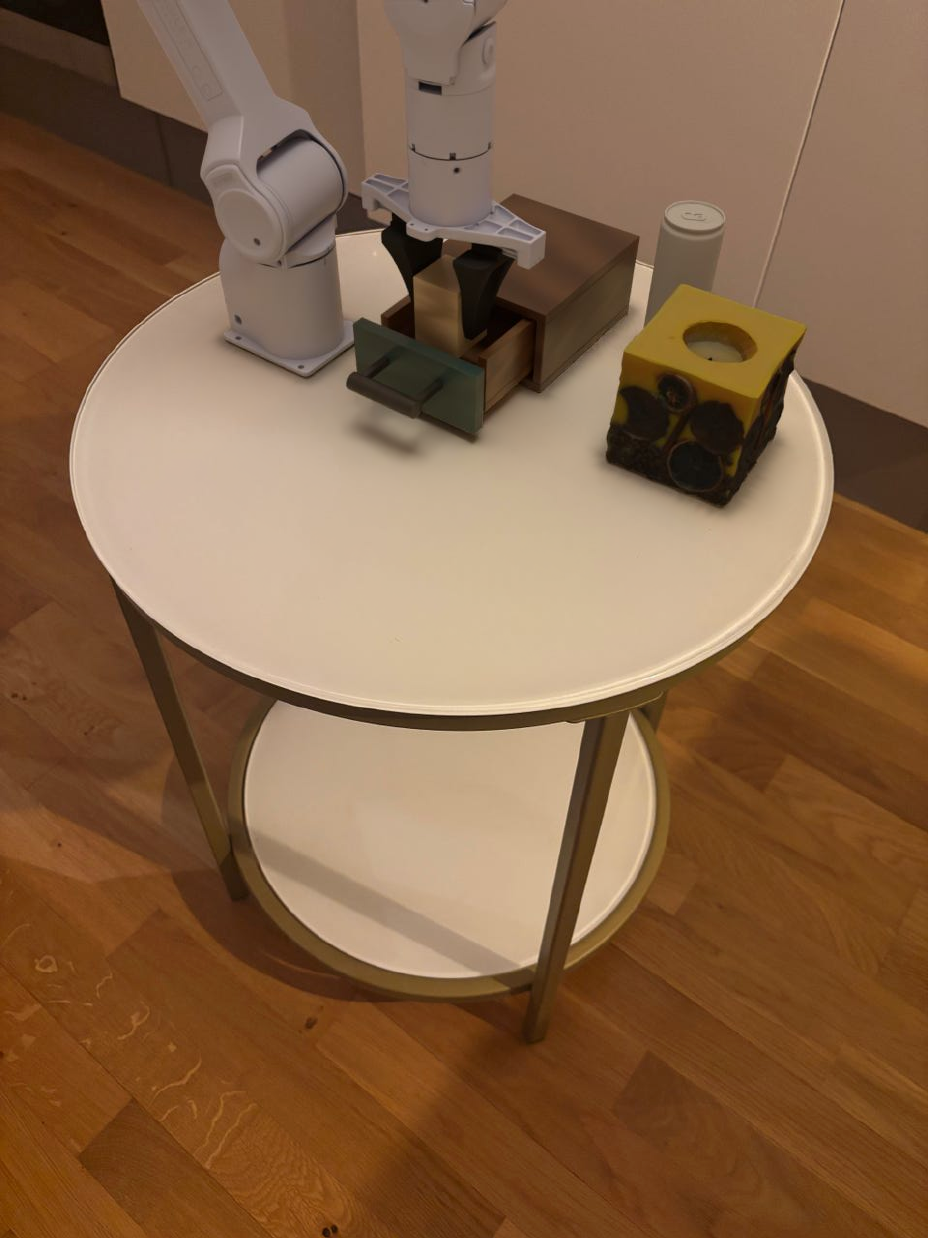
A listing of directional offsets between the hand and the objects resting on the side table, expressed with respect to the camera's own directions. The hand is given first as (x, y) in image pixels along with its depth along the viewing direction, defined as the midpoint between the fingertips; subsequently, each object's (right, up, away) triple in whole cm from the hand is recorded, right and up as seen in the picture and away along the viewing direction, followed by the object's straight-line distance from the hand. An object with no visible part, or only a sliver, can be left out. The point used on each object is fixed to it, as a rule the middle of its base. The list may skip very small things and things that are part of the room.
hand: (450, 322), depth 75 cm
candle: (+18, -10, 0) cm, 21 cm away
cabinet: (+6, +3, +10) cm, 12 cm away
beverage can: (+18, 0, +8) cm, 20 cm away
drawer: (0, -3, +4) cm, 5 cm away
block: (0, -1, +1) cm, 1 cm away
